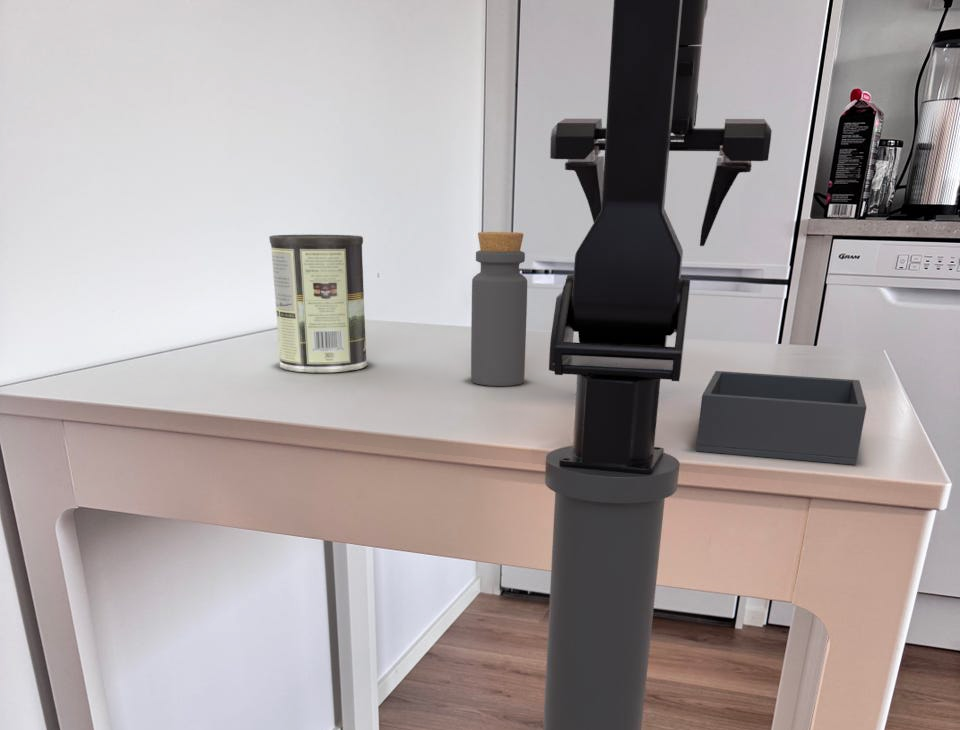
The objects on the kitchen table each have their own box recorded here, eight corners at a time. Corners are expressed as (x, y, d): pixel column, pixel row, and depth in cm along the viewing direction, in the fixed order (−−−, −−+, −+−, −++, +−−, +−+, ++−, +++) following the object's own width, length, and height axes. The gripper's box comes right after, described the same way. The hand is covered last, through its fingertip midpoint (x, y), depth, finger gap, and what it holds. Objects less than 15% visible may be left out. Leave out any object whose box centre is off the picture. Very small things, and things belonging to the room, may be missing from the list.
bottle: (481, 387, 100) (483, 233, 94) (463, 378, 105) (464, 231, 99) (532, 385, 102) (537, 233, 96) (512, 376, 107) (517, 231, 101)
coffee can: (334, 356, 118) (328, 233, 112) (384, 367, 111) (381, 236, 105) (261, 364, 112) (251, 234, 106) (310, 376, 105) (302, 238, 99)
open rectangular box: (855, 465, 73) (866, 406, 71) (695, 451, 76) (702, 394, 74) (850, 431, 84) (859, 380, 82) (709, 420, 87) (715, 370, 85)
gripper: (778, 42, 84) (753, 230, 93) (569, 45, 88) (564, 226, 97) (783, 45, 75) (755, 253, 84) (551, 48, 79) (547, 248, 87)
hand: (651, 244), depth 88 cm, fingers open, 9 cm apart
